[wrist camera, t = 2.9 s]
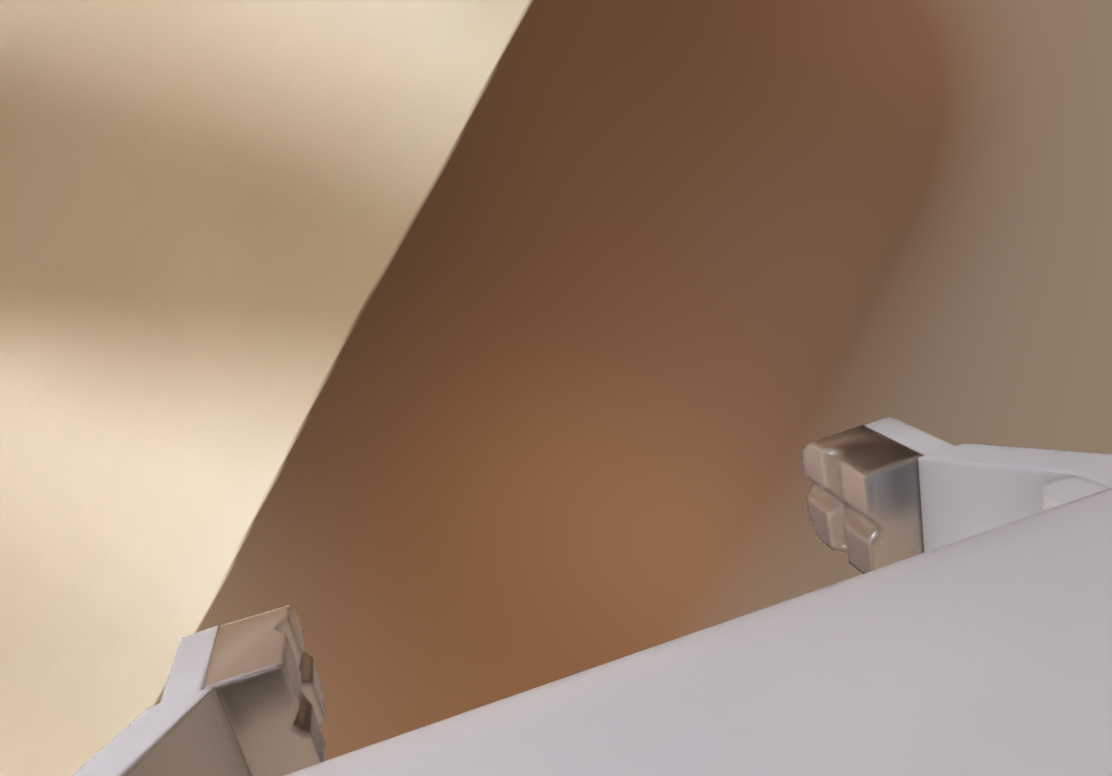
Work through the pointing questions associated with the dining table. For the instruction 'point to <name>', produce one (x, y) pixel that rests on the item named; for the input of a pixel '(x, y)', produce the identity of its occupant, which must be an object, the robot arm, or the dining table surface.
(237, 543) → the dining table surface
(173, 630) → the dining table surface
